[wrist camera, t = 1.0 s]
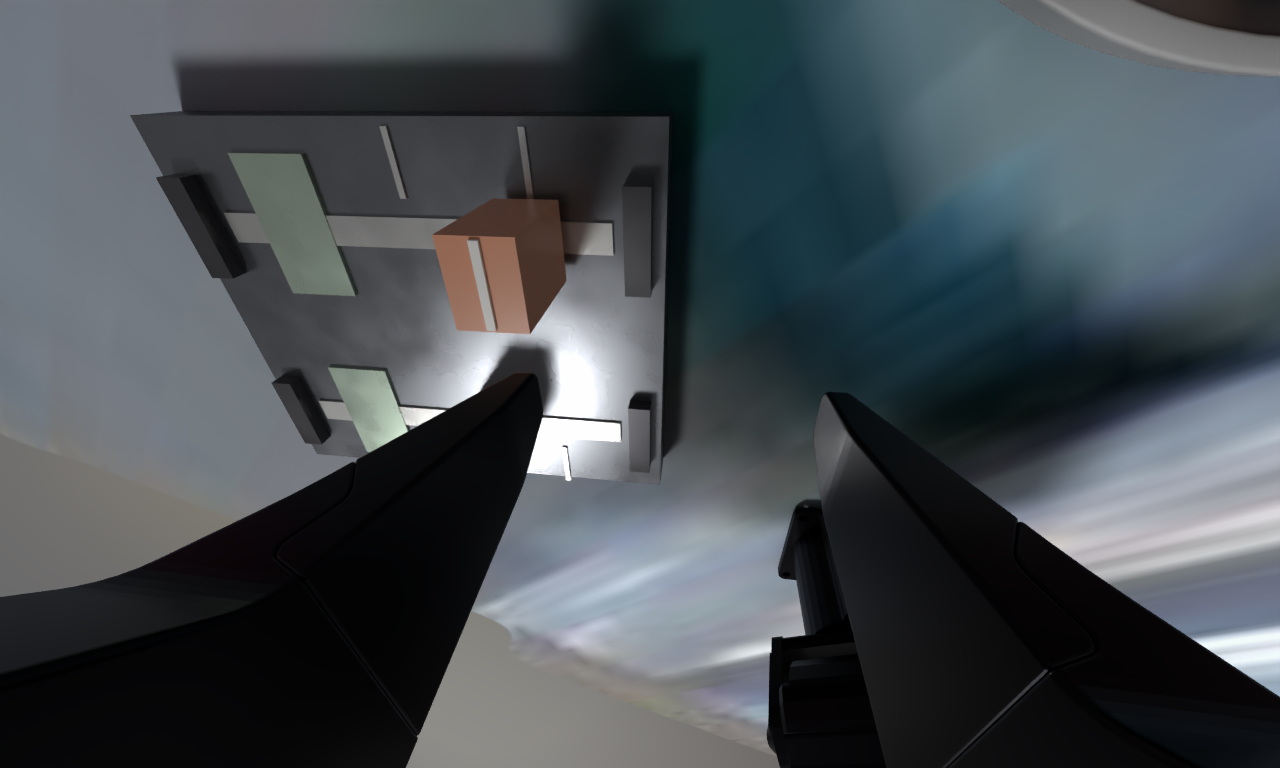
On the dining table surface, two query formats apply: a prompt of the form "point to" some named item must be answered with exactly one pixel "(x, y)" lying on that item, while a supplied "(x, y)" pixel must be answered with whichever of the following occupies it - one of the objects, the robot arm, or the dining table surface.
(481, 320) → the block
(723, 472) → the dining table surface
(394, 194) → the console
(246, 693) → the robot arm
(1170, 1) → the bowl
